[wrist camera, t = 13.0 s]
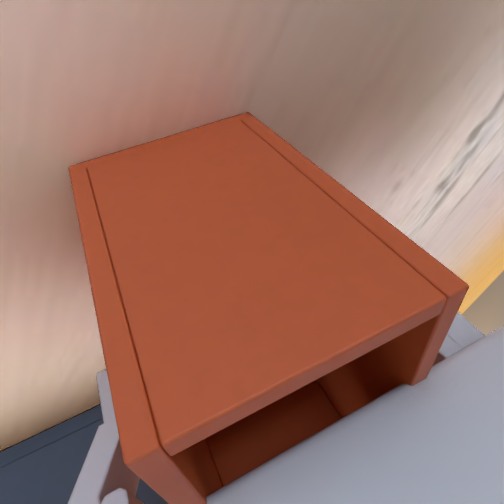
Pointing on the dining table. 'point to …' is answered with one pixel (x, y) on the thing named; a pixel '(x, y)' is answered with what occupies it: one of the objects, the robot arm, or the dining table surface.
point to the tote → (245, 301)
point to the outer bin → (54, 464)
